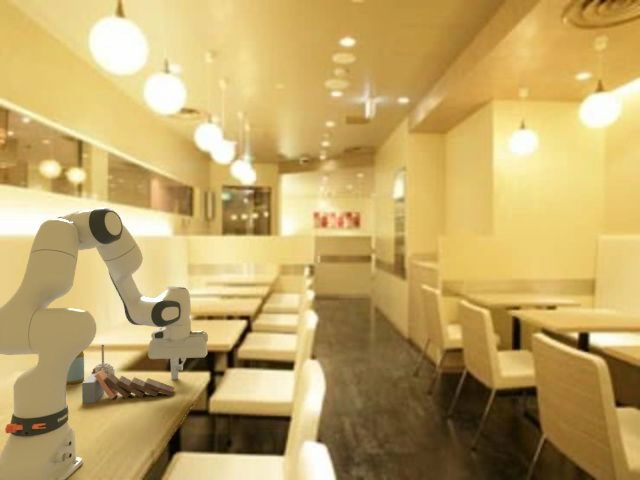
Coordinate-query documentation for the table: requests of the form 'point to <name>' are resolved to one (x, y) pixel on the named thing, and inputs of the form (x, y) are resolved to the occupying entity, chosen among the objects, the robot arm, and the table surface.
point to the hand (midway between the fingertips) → (178, 370)
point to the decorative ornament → (103, 366)
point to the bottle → (76, 370)
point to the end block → (91, 390)
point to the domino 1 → (105, 384)
